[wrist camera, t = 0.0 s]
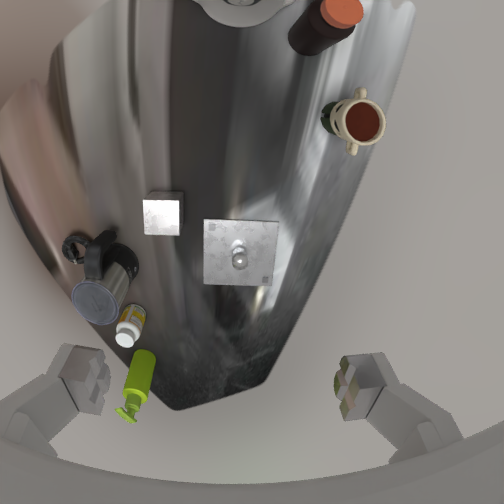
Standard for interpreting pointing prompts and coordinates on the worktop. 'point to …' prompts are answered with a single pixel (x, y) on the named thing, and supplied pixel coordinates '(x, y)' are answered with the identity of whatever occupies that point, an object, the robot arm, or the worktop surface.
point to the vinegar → (324, 25)
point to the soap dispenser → (137, 383)
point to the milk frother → (101, 276)
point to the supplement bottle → (130, 325)
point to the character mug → (355, 121)
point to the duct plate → (239, 238)
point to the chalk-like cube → (163, 212)
